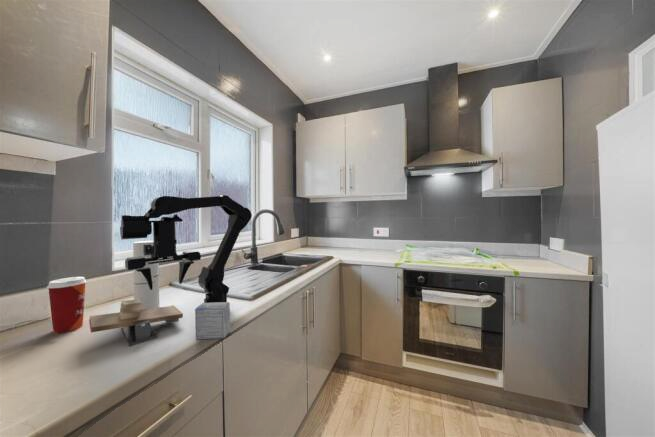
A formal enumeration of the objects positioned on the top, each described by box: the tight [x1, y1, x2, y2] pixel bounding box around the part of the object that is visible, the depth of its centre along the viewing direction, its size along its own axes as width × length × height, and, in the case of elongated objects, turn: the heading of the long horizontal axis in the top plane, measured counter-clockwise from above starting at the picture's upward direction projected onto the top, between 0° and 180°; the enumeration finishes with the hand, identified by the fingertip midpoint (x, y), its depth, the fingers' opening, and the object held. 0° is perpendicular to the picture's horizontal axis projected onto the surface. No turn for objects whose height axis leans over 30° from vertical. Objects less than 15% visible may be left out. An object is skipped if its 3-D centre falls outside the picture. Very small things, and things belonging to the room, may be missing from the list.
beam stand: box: [121, 320, 158, 347], centre depth 68 cm, size 6×15×5 cm, turn 47°
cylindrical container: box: [132, 240, 160, 310], centre depth 84 cm, size 7×7×25 cm
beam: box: [88, 305, 184, 333], centre depth 68 cm, size 20×10×3 cm, turn 137°
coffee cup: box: [46, 276, 87, 334], centre depth 71 cm, size 8×8×15 cm
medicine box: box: [194, 301, 231, 340], centre depth 66 cm, size 8×4×9 cm, turn 92°
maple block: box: [119, 299, 142, 320], centre depth 67 cm, size 4×4×4 cm
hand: (166, 286), depth 73 cm, fingers open, 7 cm apart
